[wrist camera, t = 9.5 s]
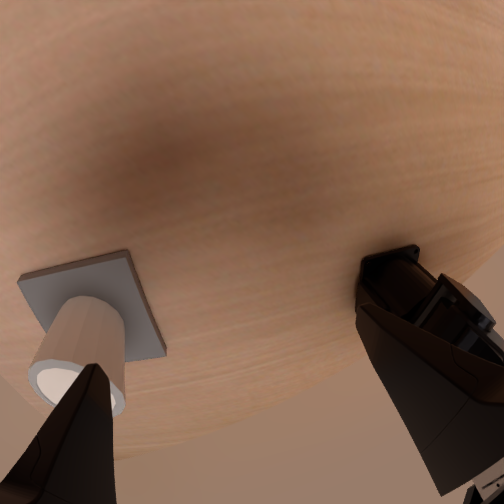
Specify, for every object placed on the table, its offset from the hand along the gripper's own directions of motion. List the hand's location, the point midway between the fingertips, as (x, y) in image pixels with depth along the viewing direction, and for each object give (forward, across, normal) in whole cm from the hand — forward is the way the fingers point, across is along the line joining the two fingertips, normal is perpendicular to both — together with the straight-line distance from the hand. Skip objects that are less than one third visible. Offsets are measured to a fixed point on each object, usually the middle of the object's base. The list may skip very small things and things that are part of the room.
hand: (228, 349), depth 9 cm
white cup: (+11, +11, +6) cm, 17 cm away
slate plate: (+12, +11, +6) cm, 17 cm away
